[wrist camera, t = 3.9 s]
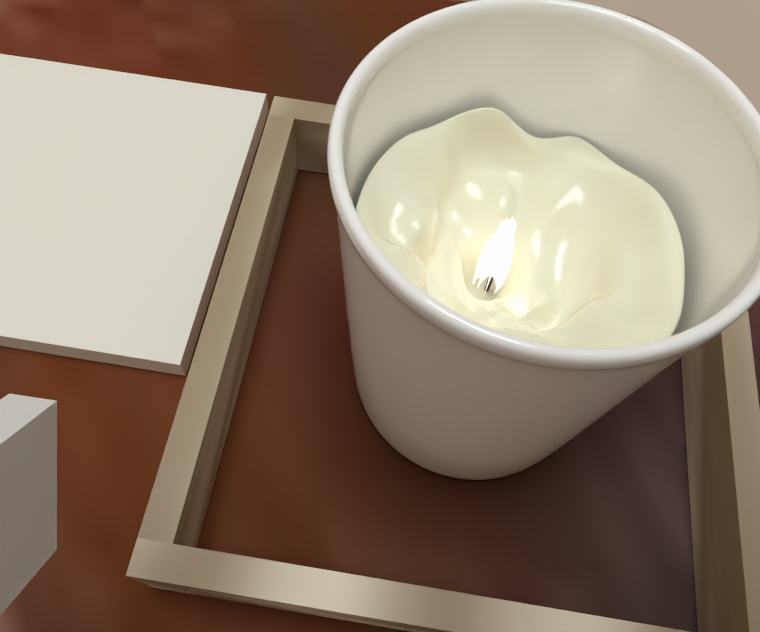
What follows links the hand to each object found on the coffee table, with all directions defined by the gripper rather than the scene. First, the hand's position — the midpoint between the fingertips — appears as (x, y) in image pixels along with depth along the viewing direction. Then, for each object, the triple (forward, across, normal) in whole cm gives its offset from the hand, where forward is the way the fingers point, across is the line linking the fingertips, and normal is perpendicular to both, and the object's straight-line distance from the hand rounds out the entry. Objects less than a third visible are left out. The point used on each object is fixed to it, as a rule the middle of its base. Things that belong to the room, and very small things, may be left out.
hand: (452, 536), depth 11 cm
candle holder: (+14, +2, -2) cm, 14 cm away
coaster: (+17, -15, +1) cm, 23 cm away
